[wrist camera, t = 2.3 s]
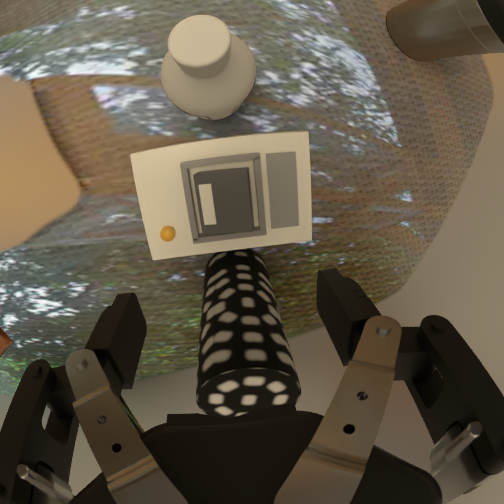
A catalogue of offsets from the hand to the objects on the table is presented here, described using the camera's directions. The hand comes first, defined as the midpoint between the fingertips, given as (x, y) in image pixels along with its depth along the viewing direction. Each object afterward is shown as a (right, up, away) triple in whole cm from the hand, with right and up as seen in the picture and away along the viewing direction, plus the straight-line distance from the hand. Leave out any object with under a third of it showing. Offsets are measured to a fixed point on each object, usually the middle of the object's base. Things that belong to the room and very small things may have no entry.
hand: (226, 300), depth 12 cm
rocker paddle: (-2, +7, +15) cm, 16 cm away
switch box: (-2, +10, +21) cm, 23 cm away
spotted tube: (-1, -1, +26) cm, 26 cm away
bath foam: (-3, +20, +16) cm, 26 cm away
